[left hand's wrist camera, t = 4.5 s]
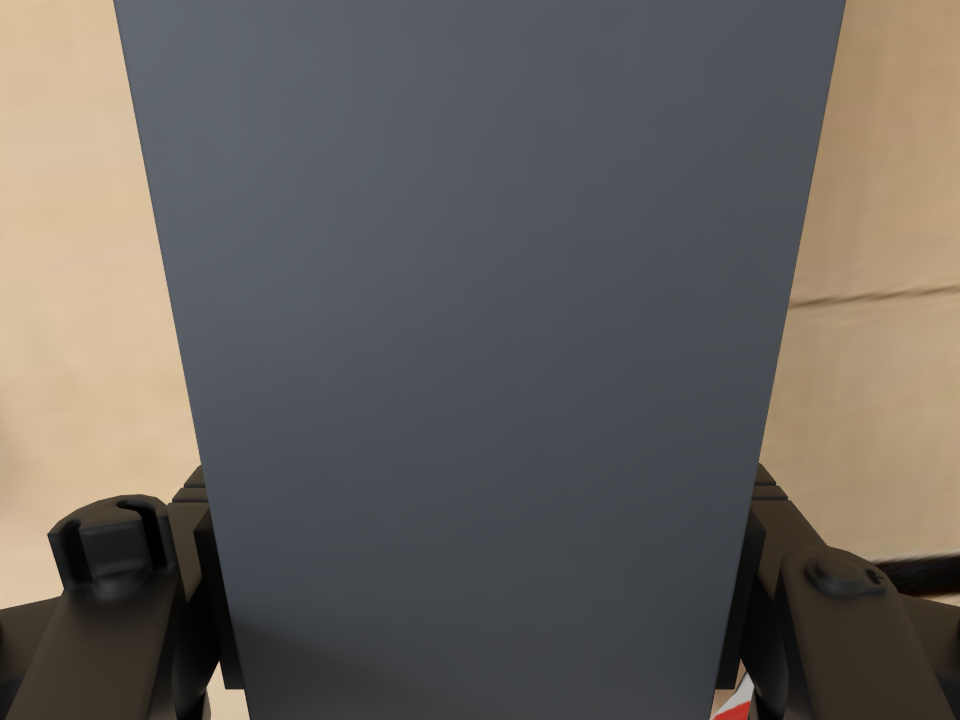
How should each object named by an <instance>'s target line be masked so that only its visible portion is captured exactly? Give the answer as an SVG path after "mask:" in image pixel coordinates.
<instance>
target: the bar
mask: <svg viewBox="0 0 960 720" xmlns="http://www.w3.org/2000/svg"><path fill="white" fill-rule="evenodd" d="M113 2H114V7H115V12H116V17H117V23H118V28H119V33H120V39H121V44H122V49H123V54H124V60H125V65H126V70H127V75H128V81H129V86H130V91H131V96H132V102H133V107H134V112H135V117H136V123H137V128H138V133H139V139H140V144H141V149H142V154H143V160H144V165H145V170H146V175H147V181H148V186H149V191H150V196H151V202H152V207H153V212H154V217H155V223H156V228H157V233H158V239H159V244H160V249H161V254H162V260H163V265H164V270H165V275H166V281H167V286H168V291H169V296H170V302H171V307H172V312H173V317H174V323H175V328H176V333H177V338H178V344H179V349H180V354H181V360H182V365H183V370H184V375H185V381H186V386H187V391H188V396H189V402H190V407H191V412H192V417H193V423H194V428H195V433H196V438H197V444H198V449H199V454H200V460H201V465H202V470H203V475H204V481H205V486H206V491H207V496H208V502H209V507H210V512H211V517H212V523H213V528H214V533H215V538H216V544H217V549H218V554H219V560H220V565H221V570H222V575H223V581H224V586H225V591H226V596H227V602H228V607H229V612H230V617H231V623H232V628H233V633H234V638H235V644H236V649H237V654H238V660H239V665H240V670H241V675H242V681H243V686H244V691H245V696H246V702H247V707H248V712H249V717H250V720H710V714H711V709H712V704H713V698H714V693H715V688H716V683H717V677H718V672H719V667H720V662H721V656H722V651H723V646H724V640H725V635H726V630H727V625H728V619H729V614H730V609H731V604H732V598H733V593H734V588H735V582H736V577H737V572H738V567H739V561H740V556H741V551H742V546H743V540H744V535H745V530H746V524H747V519H748V514H749V509H750V503H751V498H752V493H753V488H754V482H755V477H756V472H757V466H758V461H759V456H760V451H761V445H762V440H763V435H764V430H765V424H766V419H767V414H768V408H769V403H770V398H771V393H772V387H773V382H774V377H775V372H776V366H777V361H778V356H779V350H780V345H781V340H782V335H783V329H784V324H785V319H786V314H787V308H788V303H789V298H790V292H791V287H792V282H793V277H794V271H795V266H796V261H797V256H798V250H799V245H800V240H801V234H802V229H803V224H804V219H805V213H806V208H807V203H808V198H809V192H810V187H811V182H812V176H813V171H814V166H815V161H816V155H817V150H818V145H819V140H820V134H821V129H822V124H823V118H824V113H825V108H826V103H827V97H828V92H829V87H830V82H831V76H832V71H833V66H834V60H835V55H836V50H837V45H838V39H839V34H840V29H841V24H842V18H843V13H844V8H845V2H846V0H113Z"/></svg>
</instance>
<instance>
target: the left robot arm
mask: <svg viewBox="0 0 960 720" xmlns="http://www.w3.org/2000/svg"><path fill="white" fill-rule="evenodd" d="M47 535H48V539H49V542H50V545H51V548H52V552H53V555H54V558H55V561H56V565H57V568H58V571H59V574H60V577H61V581H62V584H63V587H64V590H63V592H62V595H61V596H59V597H55V598H52V599H48V600H43V601H38V602H34V603H29V604H24V605H20V606H15V607H10V608H6V609H1V610H0V720H210V719H211V710H210V703H209V697H208V693H207V688H206V687H207V685H208V683H209V681H210V679H211V677H212V675H213V673H214V671H215V668H216V666H217V664H218V662H219V661H220V666H221V671H222V676H223V680H224V685H225V689H244V686H243V681H242V675H241V670H240V665H239V660H238V654H237V649H236V644H235V638H234V633H233V628H232V623H231V617H230V612H229V607H228V602H227V596H226V591H225V586H224V581H223V575H222V570H221V565H220V560H219V554H218V549H217V544H216V538H215V533H214V528H213V523H212V517H211V512H210V507H209V502H208V496H207V491H206V486H205V481H204V475H203V470H202V465H200V466H198V467H197V469H196V470H195V471H194V472H193V474H192V475H191V476H190V477H189V479H188V480H187V481H186V482H185V484H184V488H181V489H180V490H179V491H178V492H177V494H176V495H175V496H174V497H173V499H172V503H169V504H168V505H167V506H166V504H164V503H163V502H162V501H161V500H159V499H158V498H157V497H152V496H147V495H142V494H137V495H120V496H116V497H112V498H107V499H103V500H99V501H96V502H94V503H92V504H89V505H87V506H84V507H82V508H79V509H77V510H75V511H74V512H72V513H71V514H69V515H68V516H66V517H65V518H63V519H62V520H60V521H59V522H58V523H57V524H56V525H55V526H54V527H53V528H52V529H51V531H50V532H49V533H48V534H47ZM740 659H741V660H742V662H743V664H744V666H745V668H746V670H747V672H748V675H749V677H750V679H751V681H752V683H753V685H754V688H753V693H752V697H751V702H750V706H749V711H748V715H747V720H960V607H958V606H953V605H949V604H944V603H939V602H935V601H930V600H925V599H920V598H916V597H911V596H907V595H904V594H900V593H898V591H897V589H896V587H895V586H894V585H893V583H892V582H891V581H890V579H889V578H888V577H887V575H886V574H885V573H883V572H882V571H881V570H879V569H878V568H877V567H875V566H874V565H873V564H872V563H870V562H869V561H867V560H865V559H863V558H861V557H858V556H856V555H854V554H852V553H850V552H848V551H844V550H840V549H837V548H833V547H829V546H827V545H826V544H825V542H824V541H823V540H822V539H821V537H820V536H819V535H818V534H817V532H816V531H815V530H814V529H813V527H812V526H811V525H810V524H809V522H808V521H807V520H806V519H805V518H804V516H803V515H802V514H801V513H800V511H799V510H798V509H797V508H796V506H795V505H794V504H793V503H792V501H791V500H788V496H787V495H786V494H785V493H784V491H783V490H782V489H781V488H780V486H776V481H775V480H774V479H773V478H772V476H771V475H770V474H769V473H768V472H767V470H766V469H765V468H764V467H763V465H762V464H760V463H758V466H757V472H756V477H755V482H754V488H753V493H752V498H751V503H750V509H749V514H748V519H747V524H746V530H745V535H744V540H743V546H742V551H741V556H740V561H739V567H738V572H737V577H736V582H735V588H734V593H733V598H732V604H731V609H730V614H729V619H728V625H727V630H726V635H725V640H724V646H723V651H722V656H721V662H720V667H719V672H718V677H717V683H716V688H715V689H734V688H735V683H736V678H737V673H738V669H739V664H740Z"/></svg>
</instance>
